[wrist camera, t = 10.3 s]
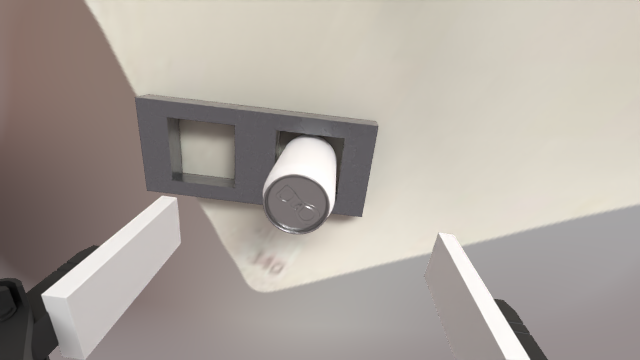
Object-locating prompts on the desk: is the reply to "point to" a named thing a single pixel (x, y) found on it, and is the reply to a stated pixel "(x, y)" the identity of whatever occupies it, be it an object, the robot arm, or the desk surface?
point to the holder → (248, 149)
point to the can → (301, 185)
